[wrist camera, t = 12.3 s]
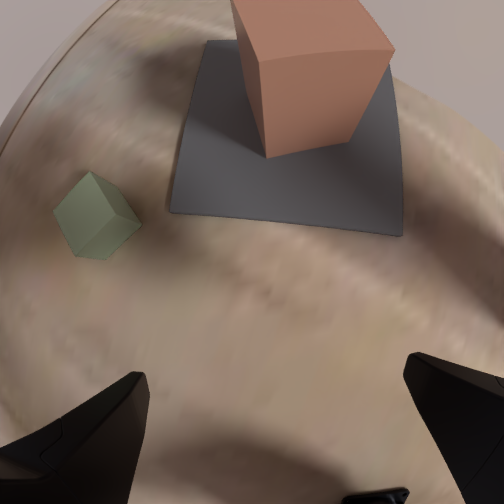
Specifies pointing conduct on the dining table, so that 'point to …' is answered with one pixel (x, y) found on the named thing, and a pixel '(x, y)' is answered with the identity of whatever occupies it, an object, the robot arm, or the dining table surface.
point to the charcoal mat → (285, 160)
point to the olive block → (95, 218)
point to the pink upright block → (308, 69)
